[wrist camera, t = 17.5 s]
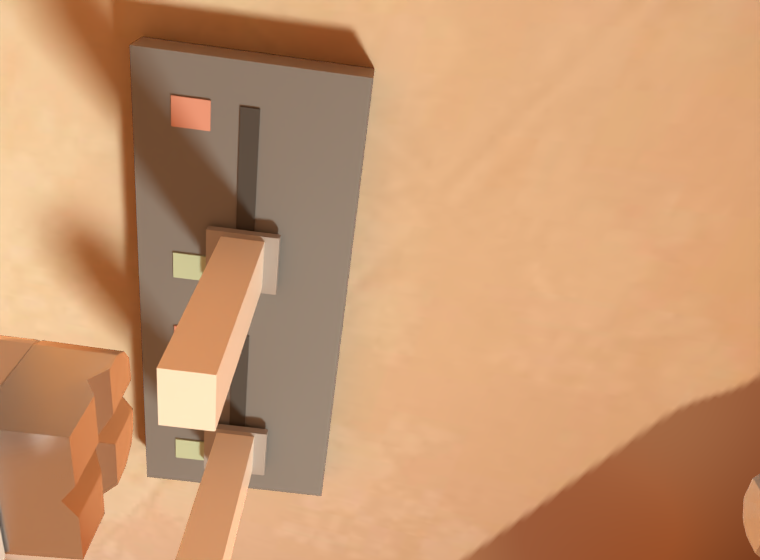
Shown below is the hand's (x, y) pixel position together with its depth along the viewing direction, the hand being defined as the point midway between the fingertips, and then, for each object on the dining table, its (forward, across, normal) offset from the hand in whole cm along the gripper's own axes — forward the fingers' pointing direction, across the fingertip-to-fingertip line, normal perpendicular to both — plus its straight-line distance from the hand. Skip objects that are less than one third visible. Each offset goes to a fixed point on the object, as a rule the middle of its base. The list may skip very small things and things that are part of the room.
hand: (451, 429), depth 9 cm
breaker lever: (+29, +8, +28) cm, 41 cm away
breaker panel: (+31, +8, +18) cm, 37 cm away
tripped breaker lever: (+29, +8, +14) cm, 33 cm away
